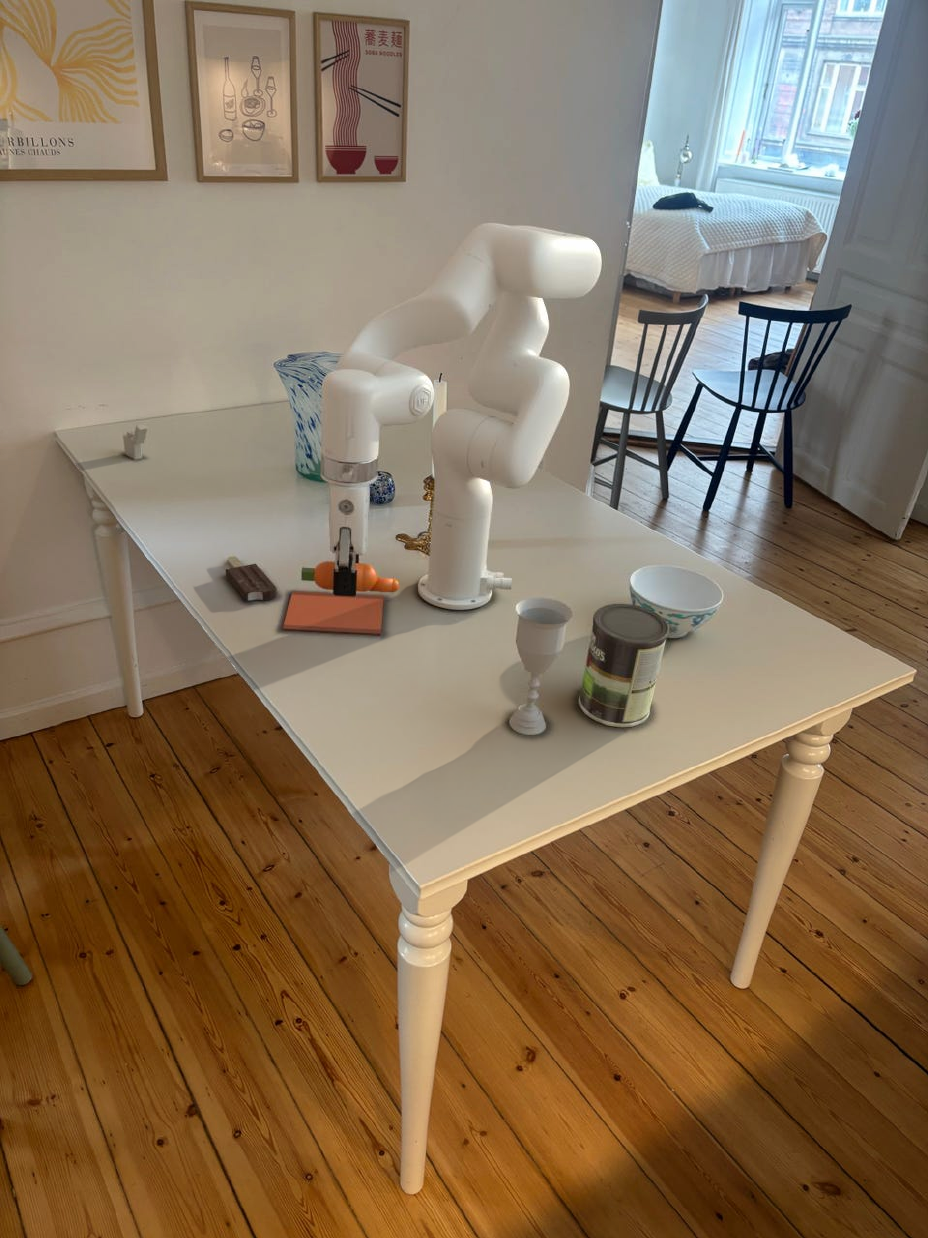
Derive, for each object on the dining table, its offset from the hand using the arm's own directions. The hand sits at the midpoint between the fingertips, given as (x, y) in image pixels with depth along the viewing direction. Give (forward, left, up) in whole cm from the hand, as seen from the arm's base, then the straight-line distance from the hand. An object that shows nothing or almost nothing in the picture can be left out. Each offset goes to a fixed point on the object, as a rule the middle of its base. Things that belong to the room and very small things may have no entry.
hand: (345, 585), depth 132 cm
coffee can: (-39, +10, -12) cm, 42 cm away
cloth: (+2, -12, -12) cm, 17 cm away
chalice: (-26, +15, -12) cm, 32 cm away
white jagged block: (+49, -72, -12) cm, 88 cm away
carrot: (0, 0, 0) cm, 1 cm away
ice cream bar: (+18, -21, -12) cm, 30 cm away
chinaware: (-52, -13, -12) cm, 55 cm away
